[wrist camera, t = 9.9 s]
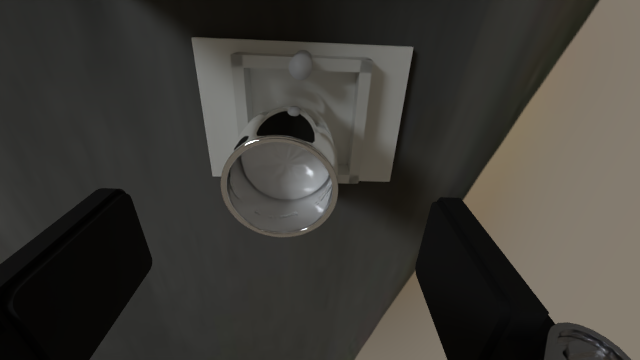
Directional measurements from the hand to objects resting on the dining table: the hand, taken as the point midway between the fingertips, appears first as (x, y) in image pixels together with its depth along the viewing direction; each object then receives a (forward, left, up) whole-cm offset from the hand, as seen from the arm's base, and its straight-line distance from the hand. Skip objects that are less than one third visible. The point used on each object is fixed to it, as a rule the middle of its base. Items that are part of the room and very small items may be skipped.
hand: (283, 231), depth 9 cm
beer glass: (+1, +2, -22) cm, 22 cm away
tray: (0, +3, -23) cm, 23 cm away
